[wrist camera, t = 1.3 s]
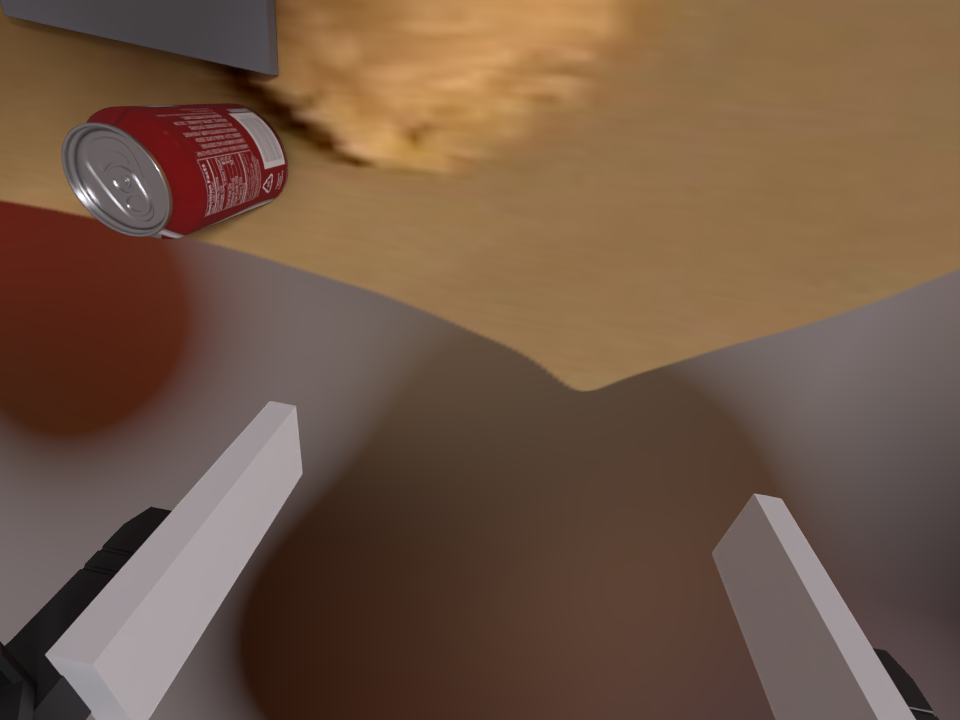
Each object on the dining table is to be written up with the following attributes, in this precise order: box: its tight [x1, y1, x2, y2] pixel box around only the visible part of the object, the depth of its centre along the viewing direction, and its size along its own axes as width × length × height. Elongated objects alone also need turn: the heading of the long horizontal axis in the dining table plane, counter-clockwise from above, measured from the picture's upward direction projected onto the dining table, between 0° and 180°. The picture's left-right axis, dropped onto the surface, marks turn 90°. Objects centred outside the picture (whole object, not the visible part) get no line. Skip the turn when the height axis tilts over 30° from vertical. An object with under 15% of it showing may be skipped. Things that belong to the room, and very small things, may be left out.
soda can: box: [62, 104, 288, 239], centre depth 27 cm, size 7×7×12 cm
